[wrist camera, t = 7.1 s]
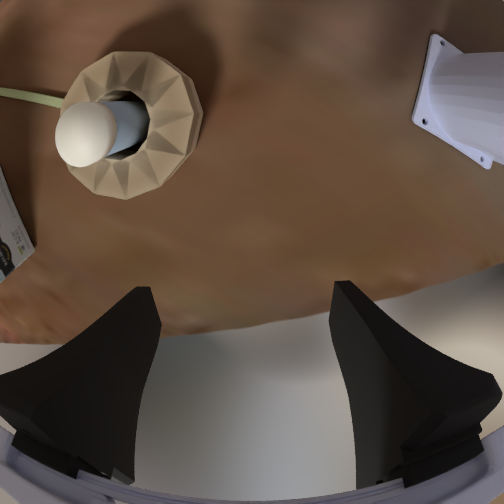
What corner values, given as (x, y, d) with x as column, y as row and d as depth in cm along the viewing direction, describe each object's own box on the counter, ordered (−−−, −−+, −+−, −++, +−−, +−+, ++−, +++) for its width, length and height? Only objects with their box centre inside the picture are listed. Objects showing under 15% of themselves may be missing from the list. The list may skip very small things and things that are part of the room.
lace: (79, 102, 15) (76, 102, 15) (77, 111, 15) (74, 111, 15) (-15, 85, 12) (-18, 85, 12) (-17, 92, 13) (-20, 92, 12)
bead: (215, 65, 14) (207, 57, 12) (187, 194, 19) (176, 209, 16) (93, 58, 13) (70, 54, 11) (78, 174, 18) (56, 186, 15)
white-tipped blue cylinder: (153, 146, 17) (104, 169, 11) (114, 142, 17) (54, 165, 11) (160, 101, 16) (110, 102, 9) (119, 99, 15) (58, 103, 9)
